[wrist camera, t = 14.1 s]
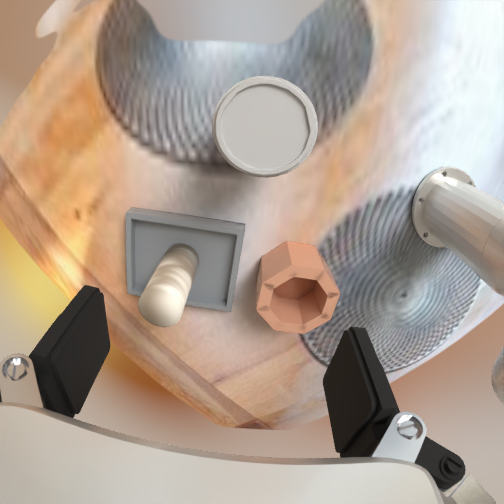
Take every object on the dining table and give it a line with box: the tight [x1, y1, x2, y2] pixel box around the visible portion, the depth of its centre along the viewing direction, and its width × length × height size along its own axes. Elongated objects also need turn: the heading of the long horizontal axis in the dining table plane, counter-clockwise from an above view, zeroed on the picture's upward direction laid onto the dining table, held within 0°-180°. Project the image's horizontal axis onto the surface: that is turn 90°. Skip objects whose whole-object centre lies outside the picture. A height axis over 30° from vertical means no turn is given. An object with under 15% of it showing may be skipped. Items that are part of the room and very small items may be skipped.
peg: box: [138, 243, 199, 327], centre depth 38 cm, size 5×5×12 cm
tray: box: [126, 207, 245, 312], centre depth 43 cm, size 16×13×2 cm
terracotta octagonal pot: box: [256, 241, 340, 334], centre depth 41 cm, size 10×10×7 cm
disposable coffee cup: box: [212, 76, 318, 177], centre depth 30 cm, size 10×10×12 cm
